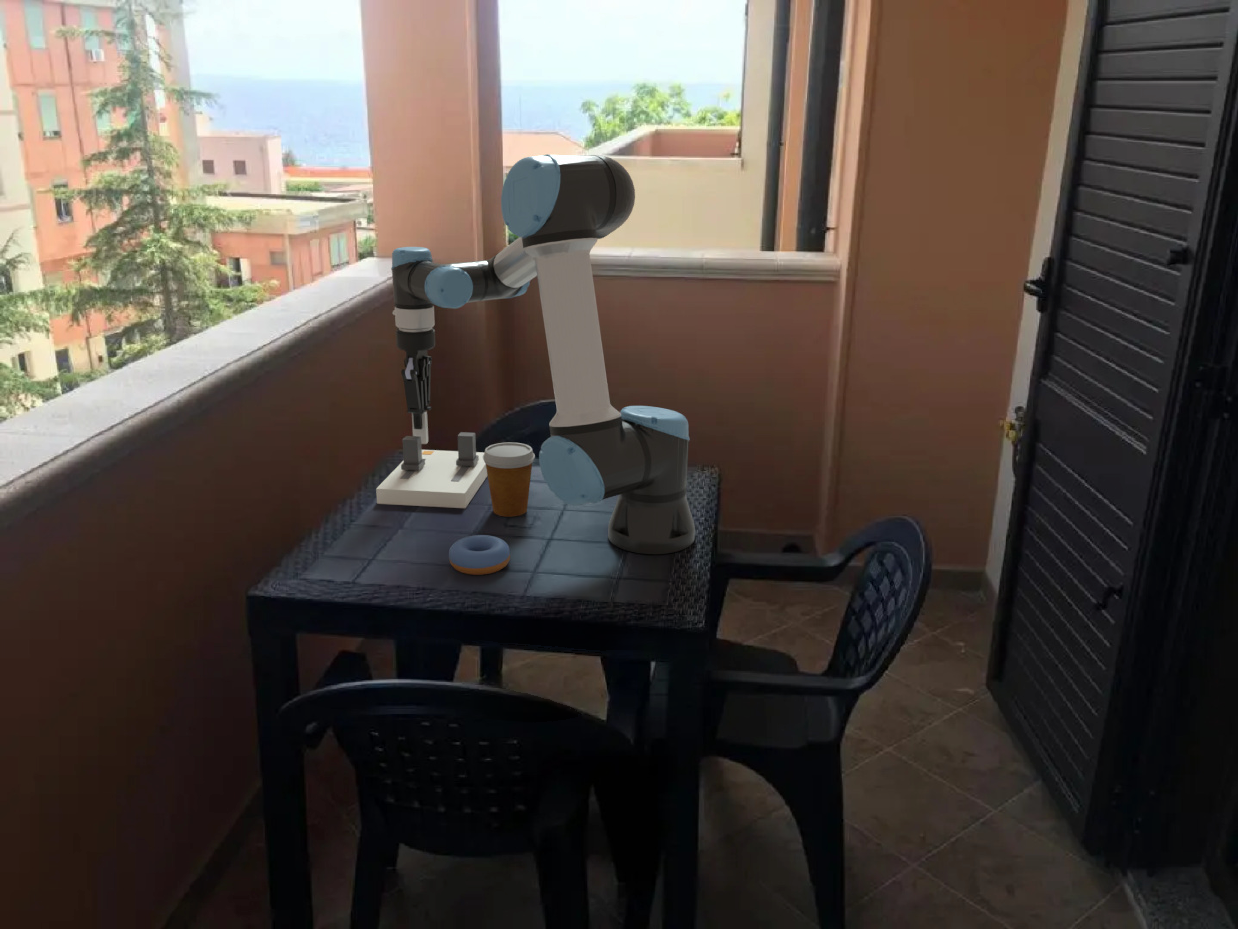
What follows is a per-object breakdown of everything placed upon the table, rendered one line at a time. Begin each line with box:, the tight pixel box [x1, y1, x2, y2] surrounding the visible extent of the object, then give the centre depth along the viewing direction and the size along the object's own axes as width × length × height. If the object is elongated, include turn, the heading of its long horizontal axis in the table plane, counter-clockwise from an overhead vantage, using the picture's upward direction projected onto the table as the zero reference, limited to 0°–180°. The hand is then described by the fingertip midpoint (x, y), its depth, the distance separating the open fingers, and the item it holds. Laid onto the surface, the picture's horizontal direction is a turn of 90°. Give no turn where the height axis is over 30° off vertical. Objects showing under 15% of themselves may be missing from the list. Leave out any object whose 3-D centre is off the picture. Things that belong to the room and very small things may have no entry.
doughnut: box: [448, 534, 511, 576], centre depth 159 cm, size 10×10×5 cm
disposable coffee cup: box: [483, 441, 536, 518], centre depth 180 cm, size 10×10×12 cm
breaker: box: [456, 431, 479, 466], centre depth 196 cm, size 4×4×6 cm
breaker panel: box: [375, 449, 488, 509], centre depth 194 cm, size 24×17×3 cm
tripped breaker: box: [401, 435, 425, 471], centre depth 193 cm, size 4×4×6 cm
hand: (420, 442), depth 199 cm, fingers closed
